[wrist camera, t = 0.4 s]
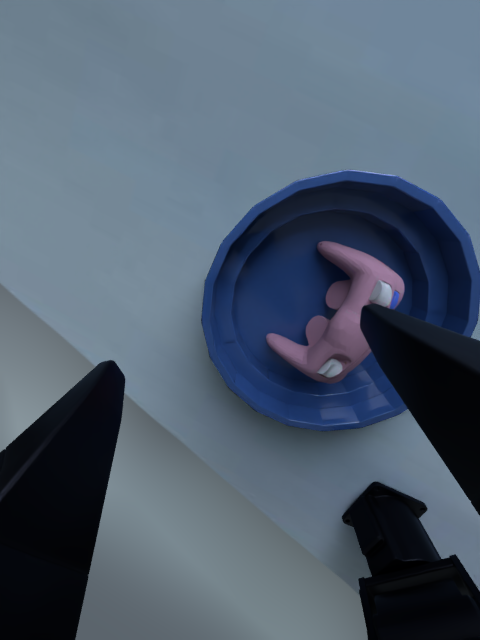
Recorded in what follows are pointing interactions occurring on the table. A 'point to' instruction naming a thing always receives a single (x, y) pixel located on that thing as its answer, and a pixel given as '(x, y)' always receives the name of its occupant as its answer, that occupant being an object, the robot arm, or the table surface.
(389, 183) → the bowl
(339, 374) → the video game controller
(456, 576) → the robot arm
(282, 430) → the table surface
